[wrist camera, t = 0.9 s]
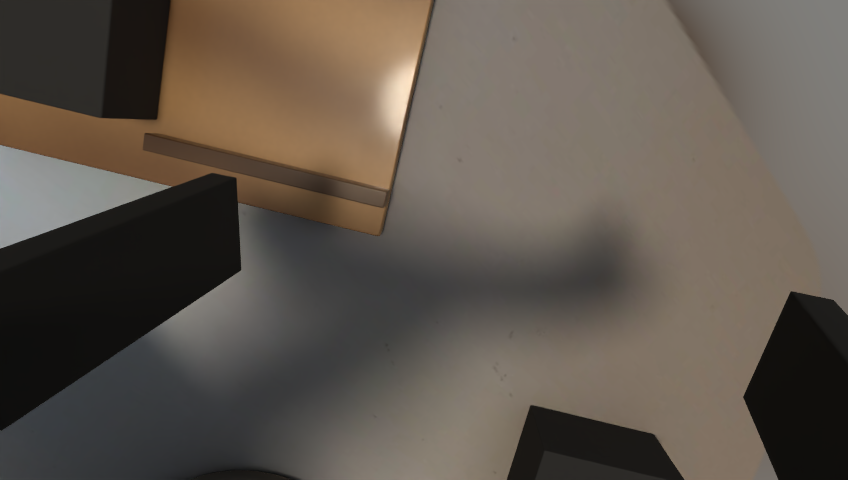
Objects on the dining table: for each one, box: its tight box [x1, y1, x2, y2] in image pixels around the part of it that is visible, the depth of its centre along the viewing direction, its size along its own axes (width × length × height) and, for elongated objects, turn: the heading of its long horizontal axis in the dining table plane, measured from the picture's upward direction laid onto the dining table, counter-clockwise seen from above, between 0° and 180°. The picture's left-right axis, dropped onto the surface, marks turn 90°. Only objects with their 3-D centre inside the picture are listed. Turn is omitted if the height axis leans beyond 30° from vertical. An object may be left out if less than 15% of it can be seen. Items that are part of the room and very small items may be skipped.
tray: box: [0, 0, 434, 236], centre depth 23 cm, size 14×20×2 cm
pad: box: [0, 0, 170, 120], centre depth 21 cm, size 8×8×4 cm
